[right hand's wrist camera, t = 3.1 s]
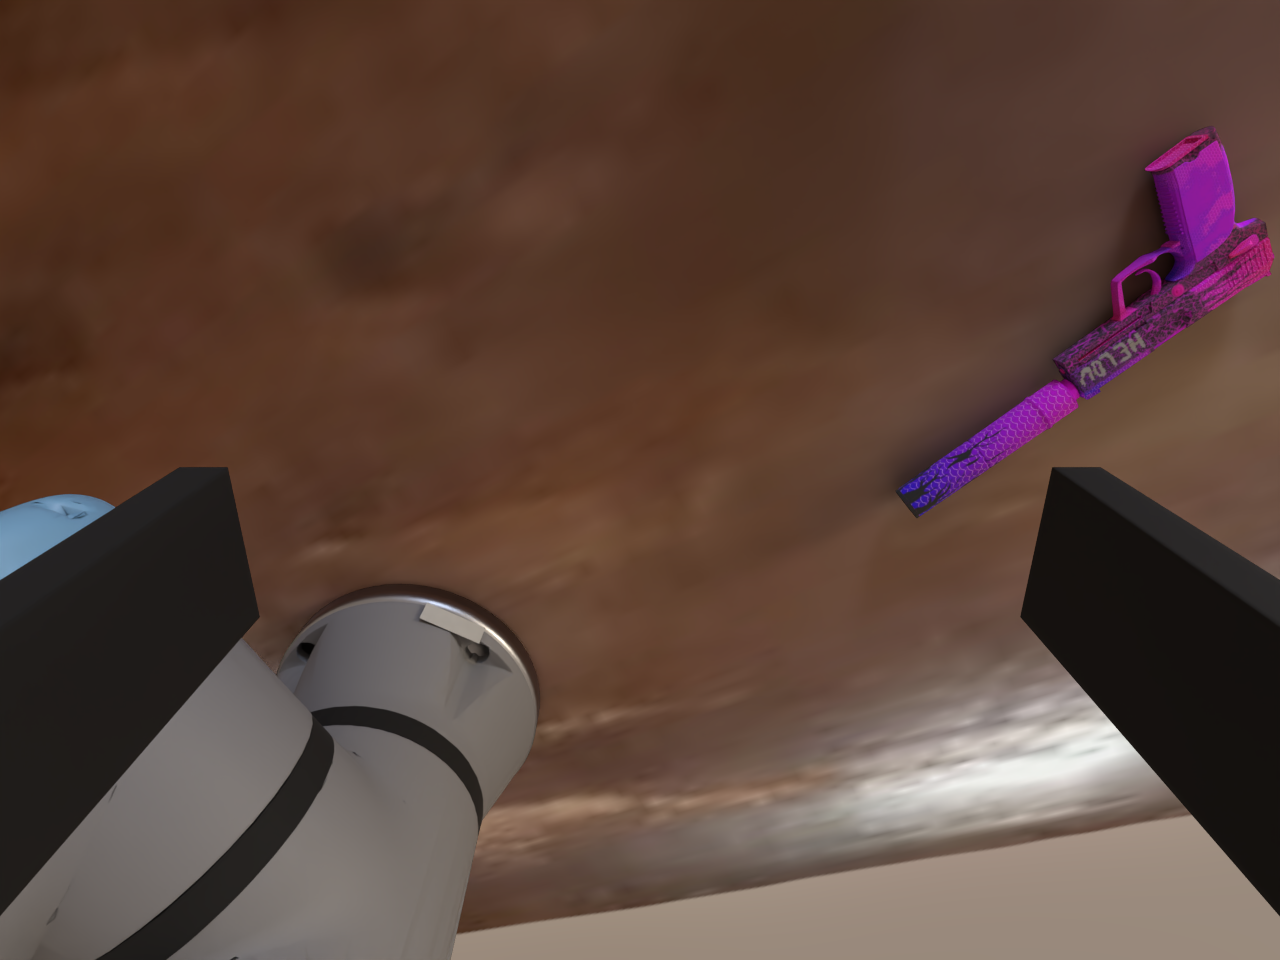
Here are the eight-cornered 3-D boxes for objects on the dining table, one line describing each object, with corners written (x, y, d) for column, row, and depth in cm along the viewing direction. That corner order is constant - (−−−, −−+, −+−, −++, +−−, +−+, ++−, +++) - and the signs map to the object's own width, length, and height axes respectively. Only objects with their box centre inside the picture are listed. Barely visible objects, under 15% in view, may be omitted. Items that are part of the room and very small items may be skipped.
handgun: (1196, 126, 35) (1226, 122, 33) (1269, 257, 37) (1302, 261, 35) (829, 411, 40) (838, 421, 38) (912, 513, 42) (924, 528, 40)
